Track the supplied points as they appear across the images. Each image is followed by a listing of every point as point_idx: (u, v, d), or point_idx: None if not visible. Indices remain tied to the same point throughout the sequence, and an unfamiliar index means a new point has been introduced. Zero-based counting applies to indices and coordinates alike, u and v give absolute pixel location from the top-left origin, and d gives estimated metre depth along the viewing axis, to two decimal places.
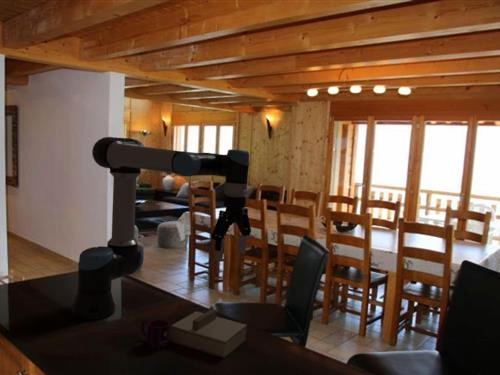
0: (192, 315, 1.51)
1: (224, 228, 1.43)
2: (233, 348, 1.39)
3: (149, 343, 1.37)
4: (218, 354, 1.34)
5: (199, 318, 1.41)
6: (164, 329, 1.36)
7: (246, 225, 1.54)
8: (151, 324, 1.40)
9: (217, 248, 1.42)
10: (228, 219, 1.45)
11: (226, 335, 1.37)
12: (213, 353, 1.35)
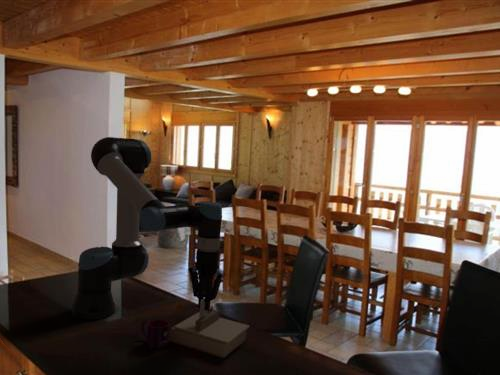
0: (195, 316, 1.50)
1: None
2: (233, 348, 1.39)
3: (149, 343, 1.37)
4: (218, 354, 1.34)
5: (202, 319, 1.41)
6: (164, 329, 1.36)
7: None
8: (151, 324, 1.40)
9: None
10: None
11: (229, 335, 1.37)
12: (213, 353, 1.35)
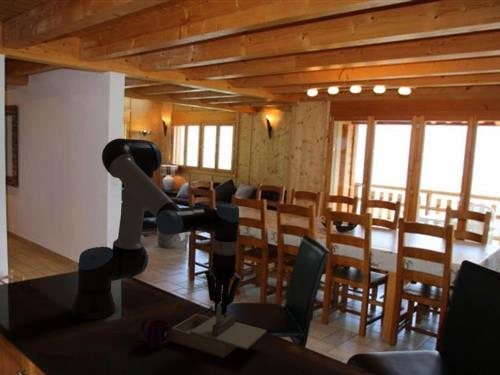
0: (210, 320, 1.48)
1: None
2: (233, 348, 1.39)
3: (149, 343, 1.37)
4: (218, 354, 1.34)
5: (219, 323, 1.38)
6: (164, 329, 1.36)
7: None
8: (151, 324, 1.40)
9: None
10: None
11: (247, 341, 1.34)
12: (213, 353, 1.35)
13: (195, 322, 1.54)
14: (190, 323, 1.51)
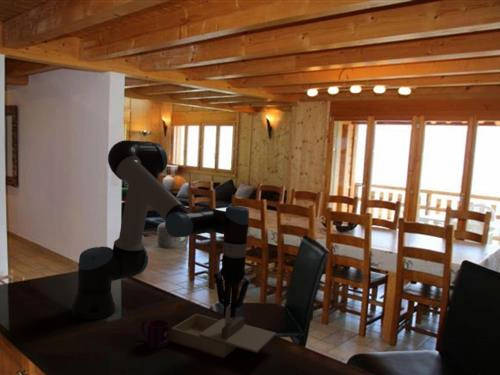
0: (219, 322, 1.46)
1: None
2: (233, 348, 1.39)
3: (149, 343, 1.37)
4: (218, 354, 1.34)
5: (228, 326, 1.37)
6: (164, 329, 1.36)
7: None
8: (151, 324, 1.40)
9: None
10: None
11: (257, 343, 1.33)
12: (213, 353, 1.35)
13: (195, 322, 1.54)
14: (190, 323, 1.51)
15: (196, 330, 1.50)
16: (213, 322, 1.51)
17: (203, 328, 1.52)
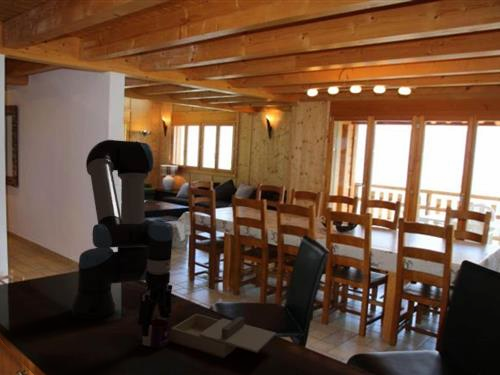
0: (219, 322, 1.46)
1: (149, 311, 1.35)
2: (233, 348, 1.39)
3: None
4: (218, 354, 1.34)
5: (228, 326, 1.37)
6: (164, 329, 1.37)
7: (167, 304, 1.44)
8: (151, 324, 1.40)
9: (144, 334, 1.35)
10: (150, 298, 1.36)
11: (257, 343, 1.33)
12: (213, 353, 1.35)
13: (195, 322, 1.54)
14: (190, 323, 1.51)
15: (196, 330, 1.50)
16: (213, 322, 1.51)
17: (203, 328, 1.52)
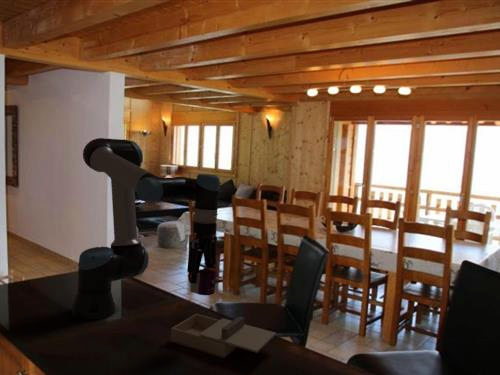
0: (219, 322, 1.46)
1: (198, 259, 1.40)
2: (233, 348, 1.39)
3: None
4: (218, 354, 1.34)
5: (228, 326, 1.37)
6: (212, 277, 1.41)
7: (212, 255, 1.48)
8: None
9: (193, 281, 1.39)
10: (198, 246, 1.41)
11: (257, 343, 1.33)
12: (213, 353, 1.35)
13: (195, 322, 1.54)
14: (190, 323, 1.51)
15: (196, 330, 1.50)
16: (213, 322, 1.51)
17: (203, 328, 1.52)
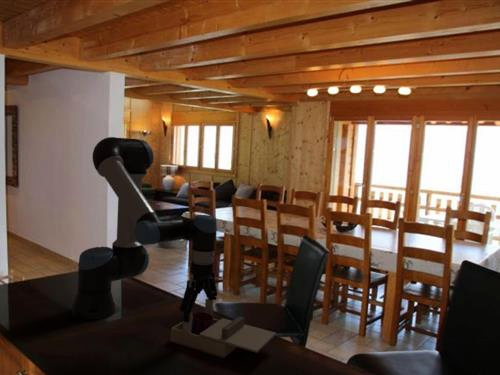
0: (219, 322, 1.46)
1: (192, 298, 1.40)
2: (233, 348, 1.39)
3: None
4: (218, 354, 1.34)
5: (228, 326, 1.37)
6: (209, 323, 1.43)
7: (213, 289, 1.51)
8: (195, 316, 1.46)
9: (186, 320, 1.38)
10: (196, 287, 1.42)
11: (257, 343, 1.33)
12: (213, 353, 1.35)
13: None
14: None
15: None
16: (213, 322, 1.51)
17: None
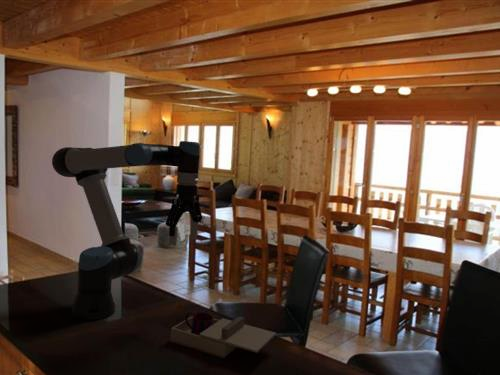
0: (219, 322, 1.46)
1: (177, 215, 1.52)
2: (233, 348, 1.39)
3: None
4: (218, 354, 1.34)
5: (228, 326, 1.37)
6: (209, 323, 1.43)
7: (197, 212, 1.64)
8: (195, 316, 1.46)
9: (171, 234, 1.51)
10: (181, 206, 1.55)
11: (257, 343, 1.33)
12: (213, 353, 1.35)
13: None
14: (190, 323, 1.51)
15: None
16: (213, 322, 1.51)
17: None
